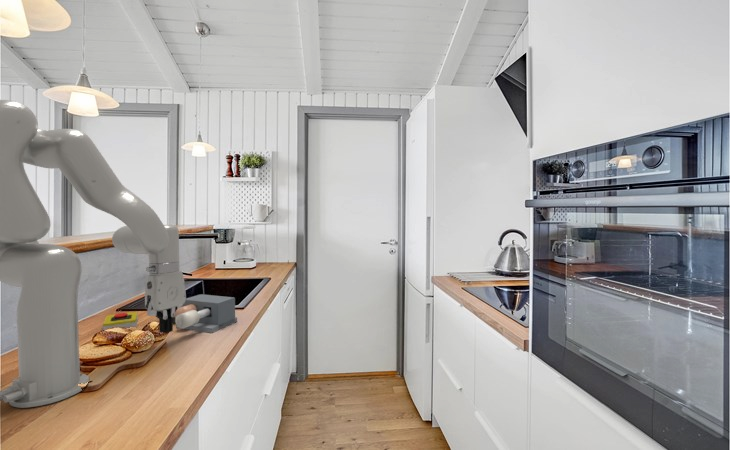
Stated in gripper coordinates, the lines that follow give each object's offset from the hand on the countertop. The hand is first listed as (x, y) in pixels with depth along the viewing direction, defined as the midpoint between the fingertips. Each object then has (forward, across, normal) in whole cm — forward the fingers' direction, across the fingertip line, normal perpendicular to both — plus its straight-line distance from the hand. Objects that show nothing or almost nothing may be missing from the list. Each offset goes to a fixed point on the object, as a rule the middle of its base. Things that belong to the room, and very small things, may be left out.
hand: (166, 331), depth 99 cm
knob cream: (+1, +11, 0) cm, 11 cm away
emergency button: (+5, +9, +31) cm, 32 cm away
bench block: (+4, +19, +3) cm, 19 cm away
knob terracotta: (+1, +16, +6) cm, 17 cm away
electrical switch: (+4, +18, +17) cm, 25 cm away
